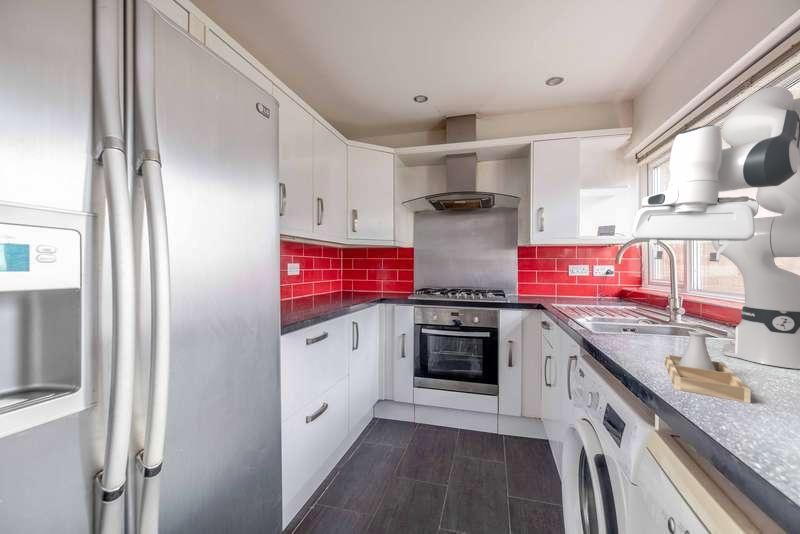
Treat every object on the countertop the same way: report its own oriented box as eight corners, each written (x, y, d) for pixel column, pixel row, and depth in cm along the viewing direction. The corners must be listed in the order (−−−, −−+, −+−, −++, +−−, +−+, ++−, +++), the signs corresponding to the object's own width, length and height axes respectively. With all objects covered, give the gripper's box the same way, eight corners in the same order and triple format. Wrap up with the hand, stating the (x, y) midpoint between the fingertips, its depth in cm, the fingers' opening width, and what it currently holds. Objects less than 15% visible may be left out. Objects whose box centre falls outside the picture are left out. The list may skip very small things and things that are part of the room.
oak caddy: (664, 364, 82) (664, 354, 82) (722, 372, 76) (722, 362, 75) (675, 389, 65) (675, 377, 65) (750, 403, 59) (750, 389, 59)
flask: (727, 381, 70) (728, 336, 70) (689, 378, 71) (690, 334, 71) (703, 370, 77) (704, 329, 77) (668, 368, 78) (670, 328, 78)
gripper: (756, 199, 67) (750, 264, 67) (636, 204, 81) (631, 258, 81) (762, 191, 62) (756, 261, 62) (634, 199, 76) (628, 256, 76)
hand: (684, 260), depth 72 cm, fingers open, 8 cm apart
